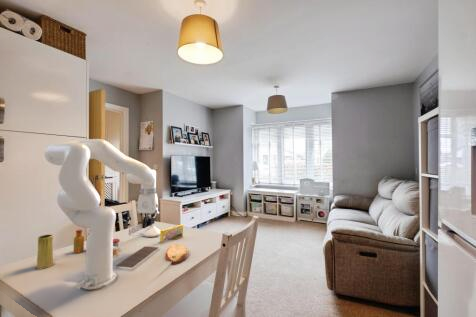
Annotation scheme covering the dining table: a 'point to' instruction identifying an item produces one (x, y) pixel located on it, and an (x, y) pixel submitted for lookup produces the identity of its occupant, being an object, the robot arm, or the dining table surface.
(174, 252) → the slice of bread
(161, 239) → the candy box
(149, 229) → the flower in vase
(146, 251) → the board
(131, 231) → the knife
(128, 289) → the dining table surface
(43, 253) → the vase
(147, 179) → the robot arm
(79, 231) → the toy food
